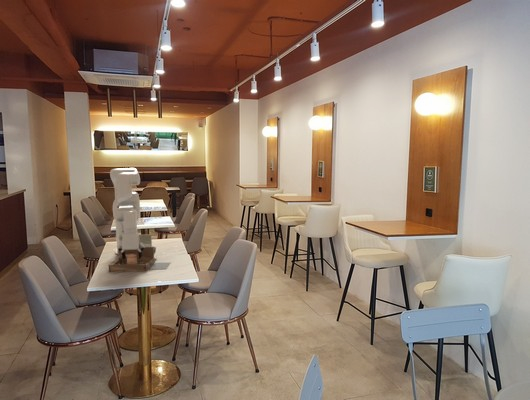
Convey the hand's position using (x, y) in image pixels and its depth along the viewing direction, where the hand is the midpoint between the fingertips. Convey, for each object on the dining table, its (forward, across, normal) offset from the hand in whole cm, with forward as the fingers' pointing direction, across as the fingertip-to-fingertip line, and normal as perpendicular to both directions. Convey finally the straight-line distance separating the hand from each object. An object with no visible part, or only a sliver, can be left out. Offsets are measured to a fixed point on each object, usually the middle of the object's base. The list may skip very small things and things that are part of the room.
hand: (132, 258), depth 241 cm
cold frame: (+5, 0, +1) cm, 5 cm away
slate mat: (+6, +17, +1) cm, 18 cm away
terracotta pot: (+5, 0, +1) cm, 5 cm away
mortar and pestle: (+5, +5, +21) cm, 22 cm away
